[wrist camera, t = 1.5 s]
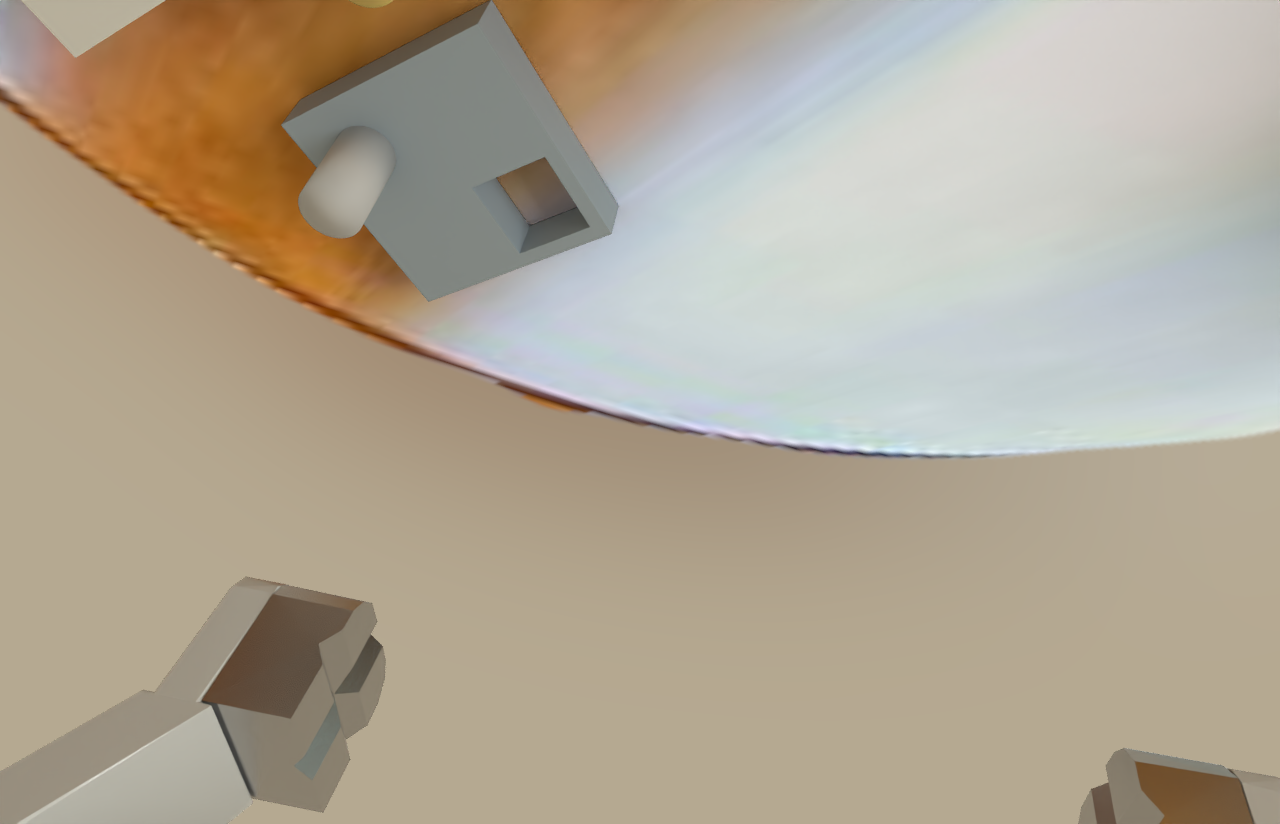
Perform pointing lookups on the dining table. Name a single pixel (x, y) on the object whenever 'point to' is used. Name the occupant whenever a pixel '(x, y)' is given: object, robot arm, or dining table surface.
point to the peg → (371, 3)
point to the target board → (445, 157)
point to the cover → (87, 19)
